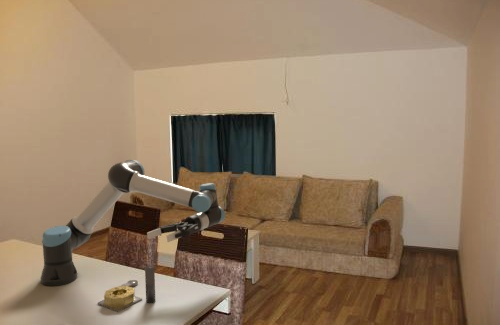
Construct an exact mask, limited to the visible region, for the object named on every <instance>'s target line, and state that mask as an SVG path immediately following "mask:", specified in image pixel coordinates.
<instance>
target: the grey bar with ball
mask: <svg viewBox="0 0 500 325" xmlns="http://www.w3.org/2000/svg"><path fill="white" fill-rule="evenodd" d="M138 282H139V281H138V280H137V279H132V280H128V281H127V282H126V283H123V284H121V285H119V286H117V287H121V286H128V287H131V288H134V287H136V286H138V285H139V284H138Z"/></svg>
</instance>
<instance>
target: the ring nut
mask: <svg viewBox="0 0 500 325" xmlns="http://www.w3.org/2000/svg"><path fill="white" fill-rule="evenodd" d="M120 286H121V285H120ZM104 292H105V293H104V294H103V295H104V296H103V298H104V299H102V300H99V301H98V302H97V305H98V306H101V307H104V308H107V309H109V310H111V311H114V312H116V313H118V312H120V311H123V310H125V309H126V308H128V307H131V306H132V305H135V304H136V303H139V302H140V301H143V297H142V298H141V297H139V296H136V294H135V293H136V292H135V288H134V287H128V286H121V287H118V286H114V287H112V288H109V289H107V290H105V291H104Z"/></svg>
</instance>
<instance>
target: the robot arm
mask: <svg viewBox="0 0 500 325" xmlns="http://www.w3.org/2000/svg"><path fill="white" fill-rule="evenodd" d="M107 179H108V182H107V183H106V185H104V187H103V188H102V189H101V190H100V191H99V192H98V194H97V195H96V196H95V197H94V198H93V199H92V200H91V202H90V203H89V204H87V206H86V207H85V208H84V209H83V210H82V211H81V213H80V214H79V215H75V216H73V217H72V218H71V219H70V221H68V223H67V224H65V225H57V226H54V227H50V228H48V229H46V230H45V231H44V232H43V233H42V240H41V242H42V250H43V251H42V253H43V255H42V256H43V268H42V270H41V276H40V284H41V285H43V286H46V287H47V286H48V287H54V286H56V287H57V286H62V285H67V284H69V283H73V282H74V281H76V280H77V279H78V270H77V268H76V265H75V264H74V261H73V251H74V250H75V249H77V248H79V247H80V246H82V245H84V244H85V243H87V242H88V241H89V239H90V238H91V235H92V234H93V232H94V230H95V229H94V227H95V225H97V224H98V223H99V221H100V220H101V219H102V218H103V217H104V216H105V215H106V214H107V212H108V211H109V210H110V209H111V208H112V207H113V206H114V205H115V203H116V202H117V201H118V200H119V199H120V198H121V197H122V196H123V195H124V194H128V193H130V194H131V193H133V192H136V193H139V194H140V193H141V194H144V195H147V196H150V197H153V198H158V199H160V200H164V201H168V202H172V203H175V204H178V205H182V206H184V207H188V208H192V209H193V210H194V211H195V212H197V213H195V214H193V215H192V214H191V215H189V216H187V217H186V218H185V219H184V221H181V222H180V221H179V222H175V223H171V224H166V225H161V226H158V227H157V228H155V229H153V230H151V231H148V232H146V235H147V236H146V237H147V239H148V240H151V239H154V238H156V237H158V236H162V234H167V233H169V234H167V235H166V240H167V243H170V242H172V241H174V240H178V239H180V238H182V237H183V238H184V237H186V238H189V237H190V236H191V235H192V234H194V233H197V232H200V231H205V230H204V229H207V228H209V227H210V228H211V227H212V226H214V225H218V224H220V223H221V222H223V221H224V220H225V218H226V212H225V211H224V208H222V207H221V206H219V201H218V194H217V188H216V184H215V183H214V182H207V183H203V184H200V185H199V189H198V190H199V191H198V190H196V189H195V190H194V189H191V188H188V187H185V186H181V185H177V184H175V183H171V182H167V181H163V180H161V179H156V178H154V177H150V176H146V175H145V168H144V166H143V164H142V163H141V162H140V161H138V160H135V159H128V160H125V161H122V162H118V163H115V164H113V165H112V166H111V167H110V168H109V170H108V173H107Z"/></svg>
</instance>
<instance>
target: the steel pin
mask: <svg viewBox="0 0 500 325" xmlns="http://www.w3.org/2000/svg"><path fill="white" fill-rule="evenodd" d="M144 275H145V276H144V277H145V278H144V280H145V283H144V284H145V303H146V304H148V305H149V304H154V303H155V302H156V285H155V284H156V281H155V280H156V279H155V278H156V277H155V266H152V265H148V266H145V267H144Z"/></svg>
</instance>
